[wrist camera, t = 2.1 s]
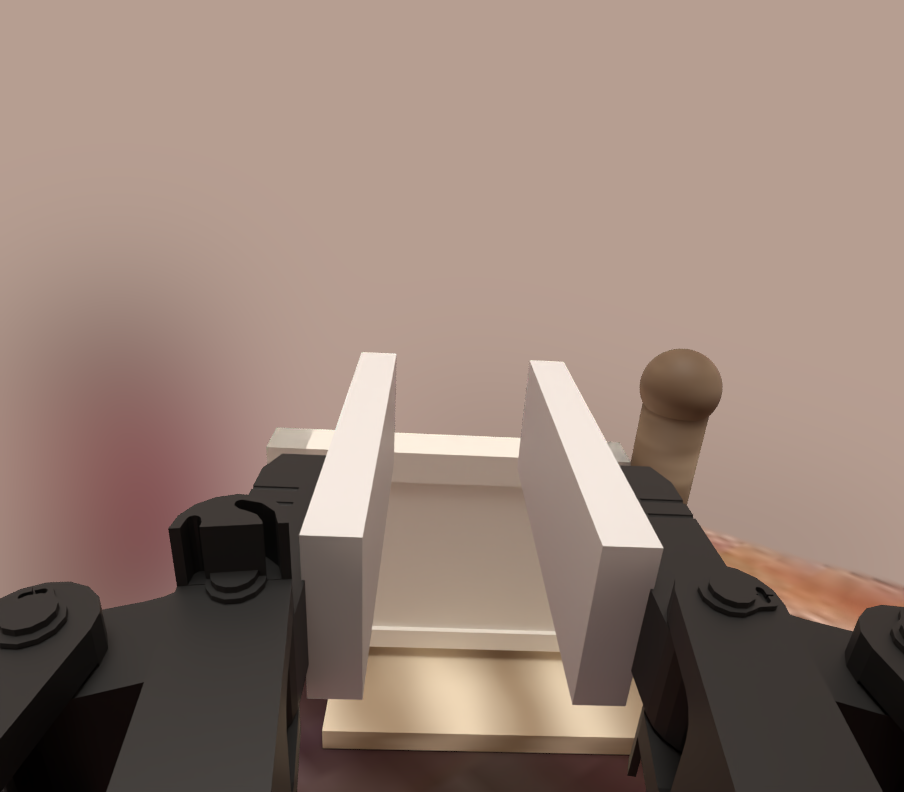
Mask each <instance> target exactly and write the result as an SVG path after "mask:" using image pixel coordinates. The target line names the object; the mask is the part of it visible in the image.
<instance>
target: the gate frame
mask: <svg viewBox="0 0 904 792" xmlns="http://www.w3.org/2000/svg"><path fill="white" fill-rule="evenodd" d="M640 395H641V399H642V402H643V404H642V409H641V414H640V419H639V424H638V429H637V434H636V439H635V444H634V449H633V454H632V459H631V464H630V466H648V467H651V468H653V469H654V470H655V471H657V472H658V473H659V474H661V475H662V476H663V477H665V478H666V479H668V480H669V481H670V482H672V484H673V485H674V487H675V489H676V490H677V492H678V493H679V495H680V496H681V498H682V499H683V504H686V505H687V501H688V498H689V494H690V490H691V486H692V482H693V478H694V474H695V470H696V466H697V462H698V458H699V454H700V450H701V446H702V442H703V437H704V434H705V430H706V426H707V422H708V418H709V416H710V415H711V413H713V411H714V410H715V409H716V407H717V406H718V404H719V401H720V399H721V395H722V379H721V376H720V373H719V371H718V369H717V368H716V366H715V365H714V363H713V362H712V361H711V360H710V359H709V358H707V357H706V356H704V355H703V354H701V353H699V352H696V351H693V350H689V349H674V350H669V351H667V352H664V353H662V354H660V355H658V356H657V357H655V358H654V359H653V360H652V361H651V362H650V363H649V364H648V365H647V367H646V368H645V370H644V372H643V374H642V376H641V380H640ZM642 706H643V703H642V700H641V698H640V695H639V692H638V689H637V686H636V684H635V681H634V678H632V682H631V686H630V690H629V694H628V698H627V703H626V706H593V705H572V701H571V697H570V693H569V688H568V684H567V680H566V676H565V671H564V667H563V663H562V658H561V654H560V652H549V651H514V650H478V649H443V648H407V647H372V646H370V647H369V654H368V662H367V669H366V677H365V684H364V692H363V699H362V700H348V699H328V703H327V708H326V714H325V719H324V724H323V729H322V740H323V748H338V749H385V750H432V751H480V752H527V753H574V754H622V755H630V753H631V749H632V745H633V741H634V737H635V733H636V729H637V726H638V722H639V718H640V714H641V710H642Z"/></svg>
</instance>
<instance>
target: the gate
mask: <svg viewBox="0 0 904 792" xmlns="http://www.w3.org/2000/svg"><path fill="white" fill-rule="evenodd" d="M334 432H335V430H320V429H297V428H296V429H295V428H276V430H275V432H274V434H273V435H272V438H271V439H270V441H269V443H268V445H267V447H266V450H267V464H269V463H270V462H271V461H273V460H274V459H275V458H277V457H278V456H279V455H281V454H282V453H283V454H307V455H327V452H328V449H329V446H330V444H331V441H332V438H333V435H334ZM520 439H521V438H507V437H484V436H461V435H437V434H414V433H395V441H394V466H393V474H392V481H391V489H390V496H389V504H388V511H387V519H386V526H385V534H384V541H383V549H382V556H381V564H380V571H379V579H378V587H377V594H376V602H375V609H374V617H373V624H372V632H371V639H370V646H372V647H407V648H443V649H478V650H514V651H549V652H560V650H559V645H558V641H557V637H556V633H555V628H554V624H553V620H552V615H551V611H550V607H549V602H548V598H547V594H546V589H545V585H544V581H543V577H542V572H541V568H540V564H539V559H538V555H537V551H536V546H535V542H534V538H533V534H532V529H531V525H530V521H529V516H528V512H527V508H526V503H525V499H524V495H523V491H522V486H521V482H520V478H519V473H518V469H517V465H518V456H519V448H520ZM607 444H608V446H609V447H610V449H611V451H612V453H613V455H614V457H615V459H616V460H617V462H618V464H619V465H623V466H630V464H631V462H630V460H629V458H628V457H627V455H626V453H625V451H624V450H623V448H622V446H621V444H620V443H619V442H607Z"/></svg>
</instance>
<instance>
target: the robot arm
mask: <svg viewBox="0 0 904 792" xmlns="http://www.w3.org/2000/svg"><path fill="white" fill-rule="evenodd" d="M396 355H397V354H389V353H369V352H362V353H361V356H360V359H359V362H358V365H357V368H356V371H355V374H354V376H353V379H352V382H351V385H350V388H349V391H348V394H347V397H346V400H345V403H344V406H343V409H342V411H341V415H340V417H339V420H338V423H337V426H336V429H335V432H334V435H333V438H332V441H331V444H330V446H329V449H328V452H327V455H307V454H283V453H282V454H281V455H279V456H278V457H277V458H275V459H274V460H273V461H271V462H270V463H269V464H267V465H266V466H264V467H263V468H262V470H261V472H260V474H259V476H258V478H257V479H256V482H255V483H254V485H253V489H251V491H250V493H249V495H242V494H235V495H228V496H221V497H215V498H212V499H210V500H207V501H204V502H201V503H198V504H196V505H194V506H192V507H191V508H189V509H187V510H186V511H185V512H183V513H181V514H180V515H178V516H177V518H176V519H175V521H174V522H173V523H172V524H171V526H170V527H169V529H168V530H169V536H170V543H171V549H172V555H173V563H174V569H175V576H176V582H177V588H176V591H175V592H174V593H172V594H169V595H167V596H165V597H161V598H157V599H153V600H149V601H145V602H140V603H135V604H130V605H125V606H120V607H114V608H109V609H105V610H102V608H101V603H100V599H99V596H98V595H96V593H94V592H93V590H91V589H90V588H89V587H88V586H84V585H80V584H77V583H73V582H50V583H44V584H39V585H35V586H32V587H27V588H23V589H20V590H18V591H16V592H13V593H11V594H9V595H7V596H5V597H3V598H0V792H297V782H298V765H299V748H300V732H301V727H300V710H299V703H300V699H301V695H302V690H303V686H304V682H305V678H306V684H307V699H348V700H362V699H363V692H364V684H365V677H366V669H367V662H368V654H369V647H370V639H371V632H372V624H373V617H374V609H375V602H376V594H377V587H378V579H379V571H380V564H381V556H382V549H383V541H384V534H385V526H386V519H387V511H388V504H389V496H390V489H391V481H392V474H393V466H394V441H395V399H396ZM517 469H518V473H519V478H520V482H521V486H522V491H523V495H524V499H525V503H526V508H527V512H528V516H529V521H530V525H531V529H532V534H533V538H534V542H535V546H536V551H537V555H538V559H539V564H540V568H541V572H542V577H543V581H544V585H545V589H546V594H547V598H548V602H549V607H550V611H551V615H552V620H553V624H554V628H555V633H556V637H557V641H558V645H559V650H560V654H561V658H562V663H563V667H564V671H565V676H566V680H567V684H568V688H569V693H570V697H571V701H572V705H593V706H626V703H627V698H628V694H629V690H630V686H631V682H632V678H634V681H635V684H636V686H637V689H638V692H639V695H640V698H641V700H642V703H643V706H642V710H641V714H640V718H639V722H638V726H637V729H636V733H635V737H634V741H633V745H632V749H631V753H630V757H629V762H628V776H634V777H636V774H637V771H638V767H639V763H640V759H641V761H642V767H643V773H644V779H645V785H646V791H647V792H904V607H897V606H887V605H880V606H875V607H871V608H867V609H866V610H865V611H864V612H863V613H862V615H861V616H860V617H859V619H858V621H857V623H856V626H855V628H854V631H849V630H845V629H841V628H837V627H833V626H829V625H825V624H821V623H817V622H813V621H809V620H805V619H802V618H799V617H795V616H792V615H790V614H789V612H788V610H787V608H786V606H785V605H784V603H783V602H782V601H781V600H780V598H779V597H778V596H777V594H776V593H775V592H774V591H773V590H772V589H771V588H769V587H768V586H766V585H765V584H764V583H762V582H761V581H760V580H758V579H757V578H755V577H753V576H751V575H749V574H746V573H744V572H742V571H740V570H738V569H735V568H731V567H727V566H726V564H725V563H724V561H723V560H722V558H721V557H720V555H719V554H718V552H717V551H716V549H715V548H714V546H713V545H712V543H711V542H710V540H709V539H708V537H707V536H706V534H705V533H704V531H703V530H702V528H701V526H700V525H699V523H698V522H697V520H696V519H693V514H692V513H691V511H690V510H689V508H688V507H687V505H686V504H683V499H682V498H681V496H680V495H679V493H678V492H677V490H676V489H675V487H674V485H673V484H672V482H670V481H669V480H668V479H666V478H665V477H663V476H662V475H661V474H659V473H658V472H657V471H655V470H654V469H653V468H651V467H648V466H623V465H619V464H618V462H617V460H616V459H615V457H614V455H613V453H612V451H611V449H610V447H609V446H608V444H607V442H606V440H605V438H604V436H603V434H602V432H601V431H600V429H599V427H598V425H597V423H596V421H595V419H594V418H593V416H592V414H591V412H590V410H589V408H588V406H587V405H586V403H585V401H584V399H583V397H582V395H581V394H580V391H579V390H578V388H577V386H576V384H575V382H574V380H573V378H572V377H571V375H570V373H569V371H568V369H567V367H566V365H565V364H564V362H554V361H533V360H530V362H529V370H528V379H527V388H526V397H525V405H524V413H523V422H522V430H521V439H520V448H519V456H518V465H517Z"/></svg>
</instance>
